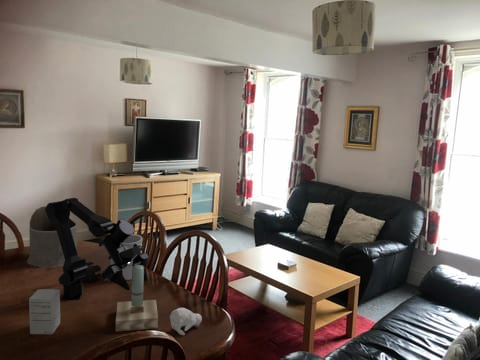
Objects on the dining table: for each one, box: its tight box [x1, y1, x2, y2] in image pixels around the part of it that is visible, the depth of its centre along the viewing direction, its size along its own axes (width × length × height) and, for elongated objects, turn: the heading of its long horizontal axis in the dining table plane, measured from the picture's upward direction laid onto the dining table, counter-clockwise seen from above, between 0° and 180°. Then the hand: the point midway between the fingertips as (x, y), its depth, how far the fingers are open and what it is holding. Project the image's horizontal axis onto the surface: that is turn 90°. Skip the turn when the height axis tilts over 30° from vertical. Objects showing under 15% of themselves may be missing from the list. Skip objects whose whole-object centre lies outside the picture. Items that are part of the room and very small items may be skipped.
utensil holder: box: [109, 233, 143, 281], centre depth 177 cm, size 15×15×18 cm
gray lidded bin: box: [27, 205, 80, 268], centre depth 188 cm, size 23×32×25 cm
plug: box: [131, 265, 145, 307], centre depth 137 cm, size 4×4×14 cm
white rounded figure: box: [169, 307, 203, 336], centre depth 134 cm, size 6×8×12 cm
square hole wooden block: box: [115, 299, 159, 332], centre depth 138 cm, size 14×14×4 cm
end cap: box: [84, 261, 102, 283], centre depth 171 cm, size 10×7×7 cm
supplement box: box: [28, 288, 61, 335], centre depth 129 cm, size 7×7×13 cm
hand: (138, 285), depth 136 cm, fingers open, 9 cm apart
